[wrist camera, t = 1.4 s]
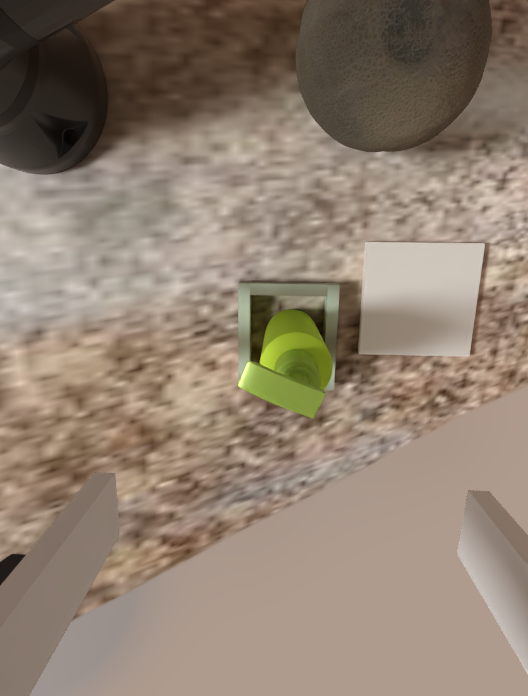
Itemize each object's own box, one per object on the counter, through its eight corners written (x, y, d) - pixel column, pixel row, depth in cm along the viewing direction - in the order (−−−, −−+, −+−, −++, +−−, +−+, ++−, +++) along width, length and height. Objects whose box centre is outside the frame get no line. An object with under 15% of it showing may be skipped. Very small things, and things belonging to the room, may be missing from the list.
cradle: (240, 281, 43) (238, 283, 41) (336, 283, 43) (339, 284, 40) (240, 380, 46) (238, 387, 43) (330, 383, 45) (333, 390, 43)
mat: (365, 242, 42) (367, 241, 41) (481, 243, 41) (485, 243, 40) (357, 352, 44) (359, 354, 44) (466, 354, 44) (469, 356, 43)
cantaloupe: (285, 165, 40) (288, 114, 26) (301, 2, 37) (314, -163, 22) (424, 177, 40) (507, 133, 25) (452, 14, 37) (566, -144, 22)
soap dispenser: (268, 297, 43) (259, 333, 24) (326, 321, 44) (362, 375, 24) (248, 345, 45) (224, 415, 25) (304, 368, 45) (323, 455, 26)
